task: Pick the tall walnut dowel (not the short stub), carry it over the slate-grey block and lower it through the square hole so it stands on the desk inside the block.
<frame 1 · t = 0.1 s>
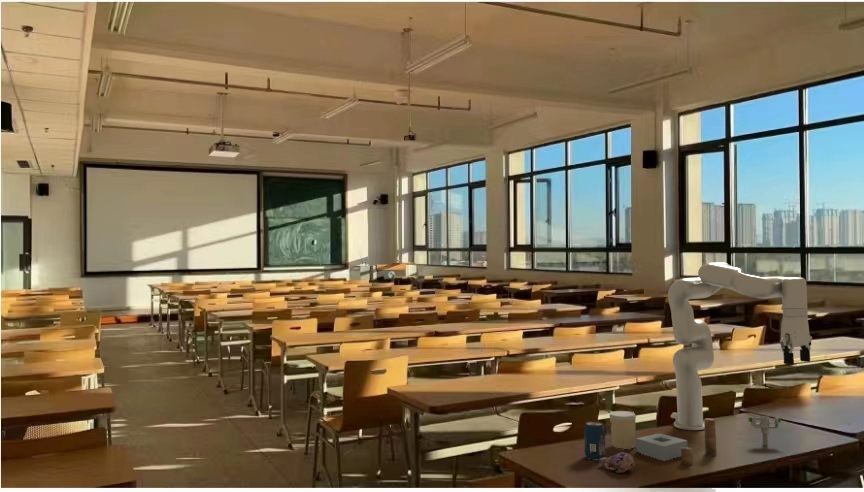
hand: (797, 362, 225), 31 cm above the table, fingers open, 9 cm apart
hole block: (662, 453, 229), on the table
long dowel: (710, 454, 227), on the table
short dowel: (687, 463, 218), on the table
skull: (616, 470, 214), on the table
coffee cup: (623, 447, 239), on the table
mechanical component: (765, 445, 236), on the table
soda can: (595, 458, 226), on the table
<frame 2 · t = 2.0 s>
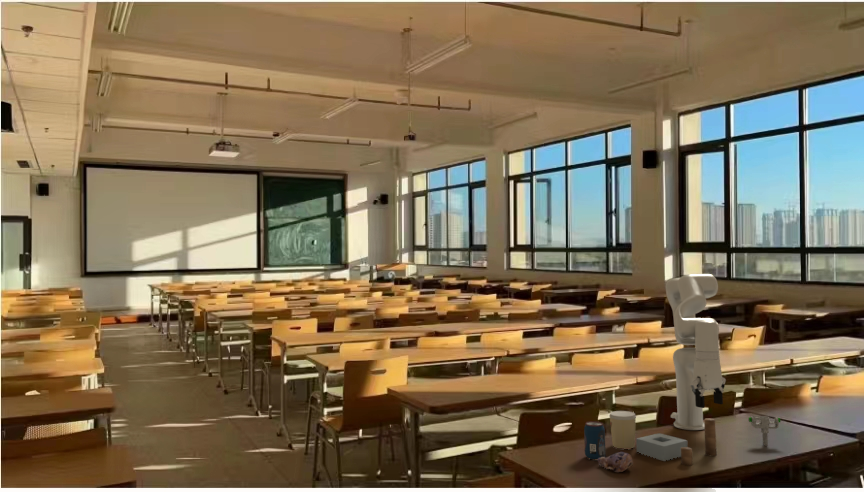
hand: (709, 405, 227), 17 cm above the table, fingers open, 9 cm apart
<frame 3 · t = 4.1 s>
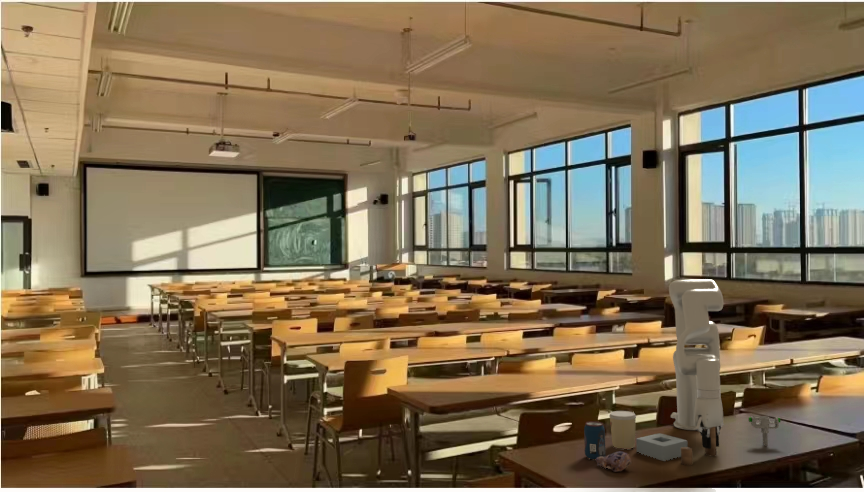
hand: (710, 446, 227), 3 cm above the table, fingers closed on long dowel, 3 cm apart
long dowel: (710, 454, 227), on the table, touching gripper
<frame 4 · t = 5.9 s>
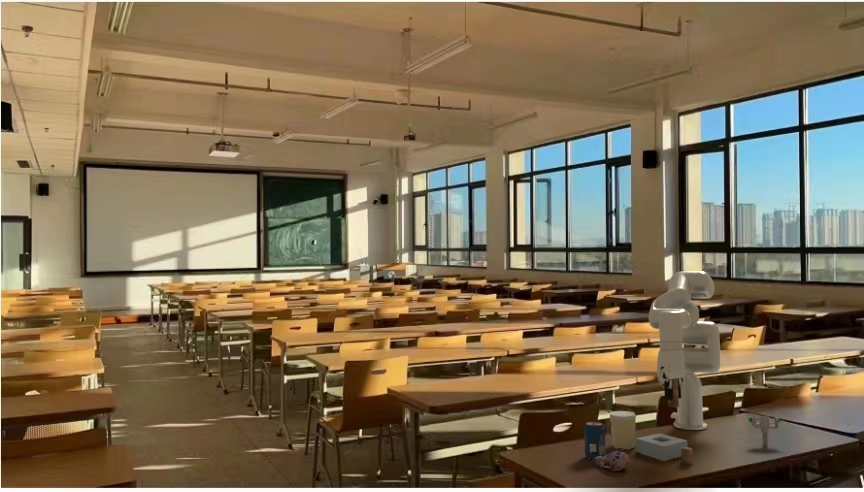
hand: (672, 398, 229), 19 cm above the table, fingers closed on long dowel, 3 cm apart
long dowel: (673, 406, 229), point 17 cm above the table, touching gripper
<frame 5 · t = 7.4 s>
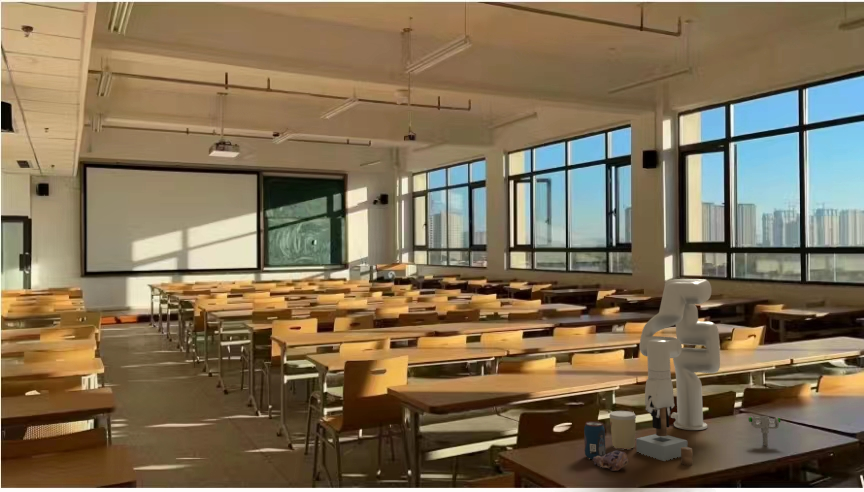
hand: (661, 427, 229), 9 cm above the table, fingers closed on long dowel, 3 cm apart
long dowel: (661, 435, 229), point 7 cm above the table, touching gripper
when the fingers open (6 cm above the table, at t = 8.2 s): long dowel drops 3 cm, resting in hole block.
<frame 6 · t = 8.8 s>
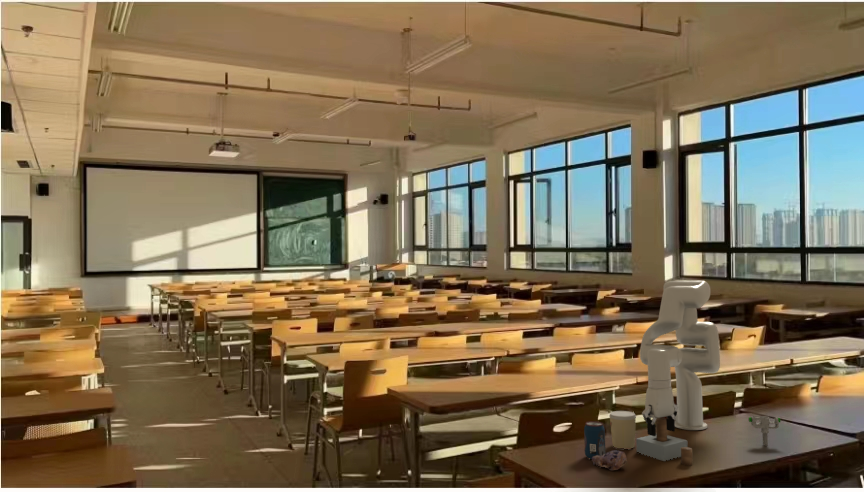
hand: (661, 432, 229), 7 cm above the table, fingers open, 9 cm apart
long dowel: (662, 453, 229), resting in hole block
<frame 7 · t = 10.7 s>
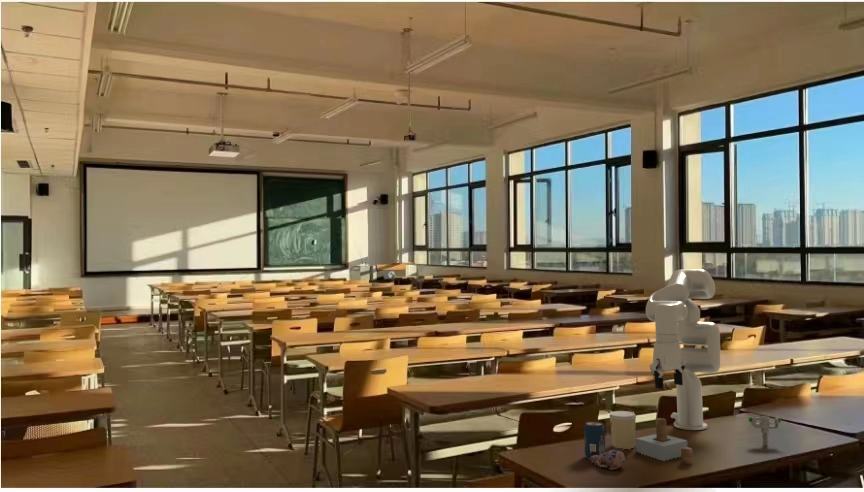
hand: (669, 386, 232), 23 cm above the table, fingers open, 9 cm apart
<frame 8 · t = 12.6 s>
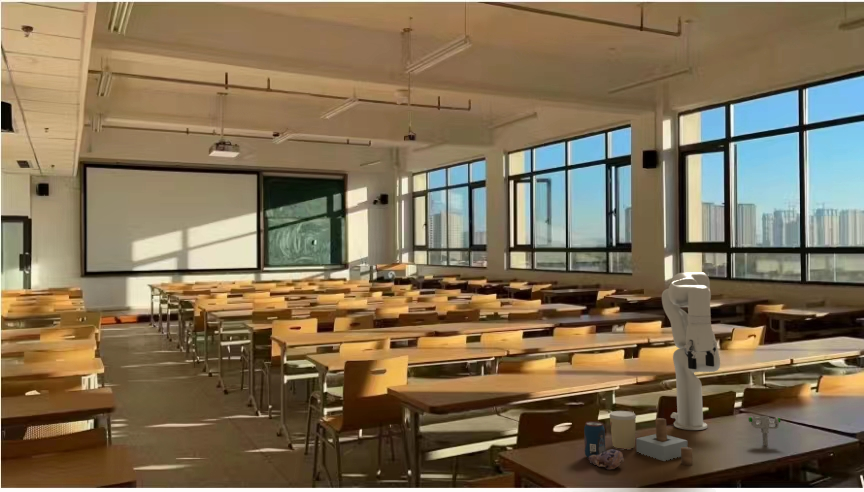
hand: (701, 367, 238), 28 cm above the table, fingers open, 9 cm apart
at the end: long dowel 0.1 cm off-centre on the hole block, point 0.0 cm above the hole block's base; long dowel tilted 1°; short dowel moved 0.0 cm from its start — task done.
